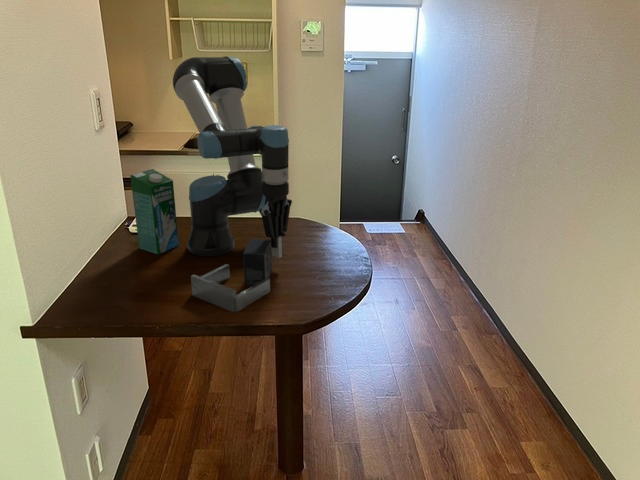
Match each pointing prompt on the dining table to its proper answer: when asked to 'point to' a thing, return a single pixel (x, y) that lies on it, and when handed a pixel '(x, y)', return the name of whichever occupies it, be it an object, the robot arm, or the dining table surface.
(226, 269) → the grey u-shaped bracket
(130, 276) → the dining table surface
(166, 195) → the milk carton
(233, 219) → the dining table surface
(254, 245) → the small box
